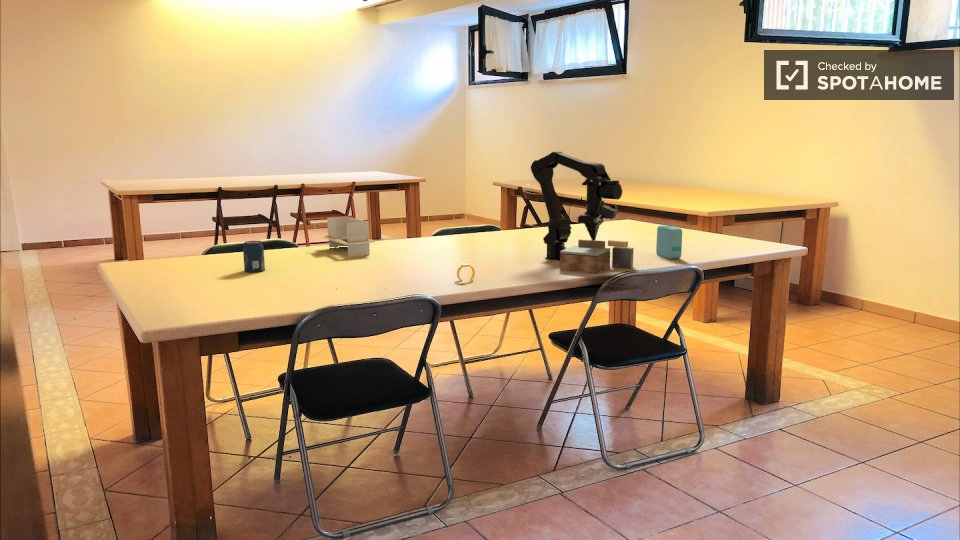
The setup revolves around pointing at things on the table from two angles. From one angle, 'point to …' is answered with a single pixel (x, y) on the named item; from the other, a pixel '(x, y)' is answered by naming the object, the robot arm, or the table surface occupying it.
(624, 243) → the bolt
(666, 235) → the data package
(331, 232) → the architectural model
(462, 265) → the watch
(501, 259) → the table surface
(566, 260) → the storage box
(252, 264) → the soda can
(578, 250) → the box lid
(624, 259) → the block
